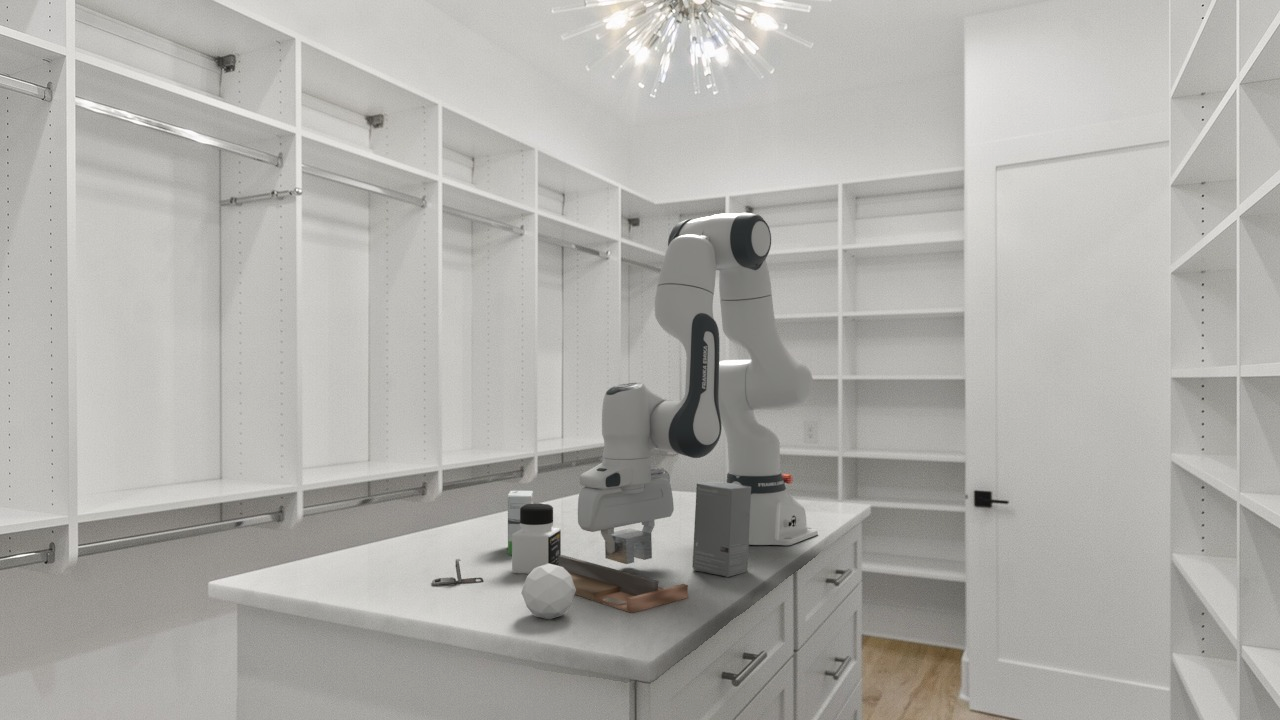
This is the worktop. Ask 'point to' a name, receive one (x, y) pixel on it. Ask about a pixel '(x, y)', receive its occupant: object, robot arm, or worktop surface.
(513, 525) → the ink box
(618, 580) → the board
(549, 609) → the geometric ball
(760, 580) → the worktop surface
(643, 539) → the grey square block
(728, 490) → the skincare box
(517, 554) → the medicine bottle
